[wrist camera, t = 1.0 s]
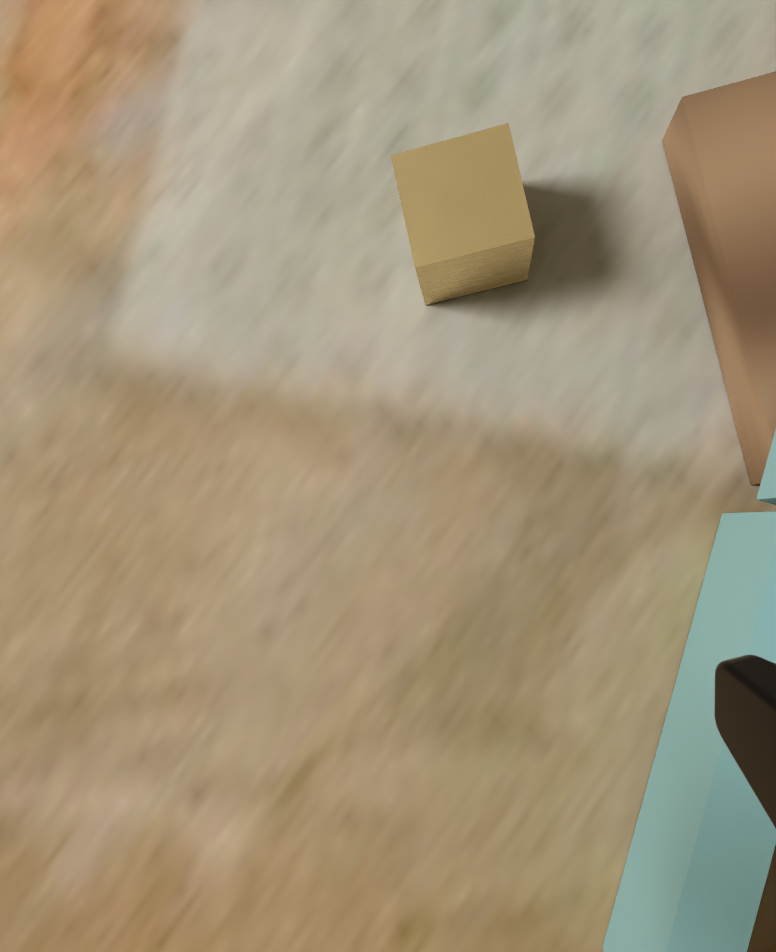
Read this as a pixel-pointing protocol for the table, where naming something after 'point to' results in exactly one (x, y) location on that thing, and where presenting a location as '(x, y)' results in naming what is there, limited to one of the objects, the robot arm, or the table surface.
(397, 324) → the table surface
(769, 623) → the bar
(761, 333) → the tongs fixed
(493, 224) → the block
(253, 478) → the table surface
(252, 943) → the table surface
